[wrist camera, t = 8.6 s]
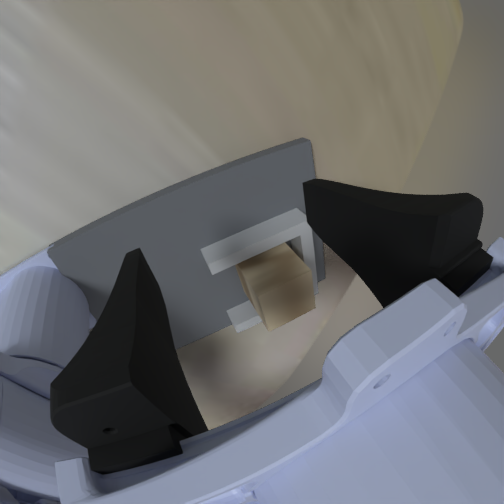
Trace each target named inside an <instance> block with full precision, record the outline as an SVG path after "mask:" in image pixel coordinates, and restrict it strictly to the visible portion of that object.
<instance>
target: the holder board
mask: <svg viewBox="0 0 504 504" xmlns="http://www.w3.org/2000/svg"><path fill="white" fill-rule="evenodd" d="M312 179H316V178H315V170H314V163H313V156H312V149H311V142H310V140H308V139H306V138H300V139H297V140H293V141H290V142H287V143H284V144H281V145H278V146H275V147H272V148H269V149H266V150H263V151H260V152H257V153H254V154H252V155H249V156H246V157H243V158H240V159H238V160H235V161H232V162H230V163H227V164H224V165H222V166H219V167H216V168H214V169H211V170H209V171H206V172H203V173H201V174H198V175H196V176H193V177H191V178H189V179H186V180H184V181H181V182H179V183H176V184H174V185H172V186H169V187H167V188H165V189H162V190H160V191H158V192H156V193H153V194H151V195H149V196H147V197H144V198H142V199H140V200H138V201H135V202H133V203H131V204H129V205H127V206H125V207H123V208H120V209H118V210H116V211H114V212H112V213H110V214H108V215H106V216H104V217H102V218H100V219H98V220H96V221H94V222H92V223H90V224H88V225H86V226H84V227H82V228H80V229H78V230H76V231H74V232H73V233H71V234H69V235H67V236H65V237H63V238H61V239H59V240H58V241H56V242H54V243H52V244H50V245H49V246H51V245H53V244H54V246H53V247H51V248H49V249H48V250H47V254H48V255H49V257H50V258H51V260H52V261H53V263H54V264H55V266H56V267H57V268H58V270H59V271H60V273H61V274H62V275H64V276H65V277H67V278H69V279H70V280H72V281H73V282H74V283H75V284H77V286H78V287H79V288H80V289H81V290H82V291H83V293H84V295H85V297H86V299H87V301H88V304H89V312H90V313H91V314H92V315H93V317H94V318H95V319H96V320H97V321H98V319H99V317H100V315H101V314H102V312H103V310H104V308H105V305H106V303H107V301H108V299H109V296H110V294H111V292H112V289H113V287H114V284H115V282H116V279H117V276H118V274H119V271H120V268H121V265H122V262H123V260H124V257H125V255H126V253H128V252H130V251H133V250H135V249H137V248H139V247H140V249H141V251H142V253H143V255H144V257H145V259H146V261H147V263H148V265H149V267H150V269H151V271H152V273H153V274H154V276H155V278H156V280H157V282H158V284H159V286H160V289H161V292H162V295H163V298H164V301H165V304H166V309H167V314H168V318H169V323H170V328H171V332H172V337H173V341H174V346H175V350H176V349H178V348H180V347H183V346H185V345H187V344H190V343H192V342H194V341H196V340H199V339H201V338H203V337H205V336H208V335H210V334H212V333H214V332H217V331H219V330H221V329H223V328H225V327H227V326H230V325H232V324H233V326H234V328H235V330H236V332H237V333H239V332H241V331H243V330H245V329H247V328H250V327H252V326H254V325H256V324H258V323H260V322H262V320H261V318H260V316H259V315H258V313H257V312H256V310H255V308H254V307H253V305H252V303H251V302H250V300H249V298H248V297H247V295H246V294H245V292H244V290H243V287H242V284H241V281H240V278H239V275H238V272H237V270H236V267H235V265H236V264H238V263H240V262H242V261H245V260H247V259H249V258H251V257H253V256H256V255H258V254H260V253H262V252H264V251H267V250H269V249H271V248H273V247H276V246H278V245H280V244H282V243H284V242H285V243H286V244H287V245H288V246H289V247H290V248H291V249H292V250H293V251H294V252H295V253H296V254H297V256H298V257H299V258H300V259H301V260H302V261H303V262H304V263H305V264H306V265H307V266H308V267H309V268H310V269H311V271H312V279H313V288H314V295H316V294H317V293H318V282H319V281H321V280H323V279H325V267H324V254H323V243H322V240H321V239H320V238H319V237H318V235H317V234H316V233H315V232H314V231H313V229H312V228H311V227H310V226H309V224H308V223H307V218H306V209H305V201H304V192H303V184H302V183H303V182H306V181H309V180H312Z"/></svg>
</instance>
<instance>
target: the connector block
mask: <svg viewBox="0 0 504 504" xmlns="http://www.w3.org/2000/svg"><path fill="white" fill-rule="evenodd" d="M235 267H236V270H237V272H238V275H239V278H240V281H241V284H242V287H243V290H244V292H245V294H246V295H247V297H248V298H249V300H250V302H251V303H252V305H253V307H254V308H255V310H256V312H257V313H258V315H259V316H260V318H261V320H262V321H263V323H264V325H265V326H266V328H267V329H268V331H269V332H270V331H272V330H274V329H276V328H278V327H280V326H282V325H284V324H286V323H288V322H290V321H292V320H294V319H295V318H297V317H299V316H301V315H303V314H305V313H307V312H309V311H311V310H313V309H314V308H316V307H315V297H314V288H313V279H312V271H311V269H310V268H309V267H308V266H307V265H306V264H305V263H304V262H303V261H302V260H301V259H300V258H299V257H298V256H297V254H296V253H295V252H294V251H293V250H292V249H291V248H290V247H289V246H288V245H287V244H286V243H285V242H284V243H282V244H280V245H278V246H276V247H273V248H271V249H269V250H267V251H264V252H262V253H260V254H258V255H256V256H253V257H251V258H249V259H247V260H245V261H242V262H240V263H238V264H236V265H235Z"/></svg>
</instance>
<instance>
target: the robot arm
mask: <svg viewBox="0 0 504 504" xmlns="http://www.w3.org/2000/svg"><path fill="white" fill-rule="evenodd" d="M302 184H303V192H304V201H305V209H306V218H307V223H308V224H309V226H310V227H311V228H312V229H313V231H314V232H315V233H316V234H317V235H318V237H319V238H320V239H321V240H322V241H323V242H324V243H325V244H327V245H328V246H329V247H330V248H331V249H332V250H333V251H334V252H335V253H336V254H337V255H338V256H340V257H341V258H342V259H343V260H344V261H345V262H346V263H347V264H348V265H349V266H350V267H351V268H352V269H353V270H354V271H355V272H356V273H357V274H358V275H359V276H360V278H361V279H362V280H363V281H364V282H365V284H366V285H367V286H368V287H369V288H370V290H371V291H372V293H373V294H374V295H375V297H376V298H377V299H378V301H379V302H380V303H381V305H382V306H383V309H382V310H380V311H379V312H377V313H375V314H374V315H372V316H370V317H369V318H367V319H366V320H364V321H362V322H361V323H359V324H357V325H356V326H354V328H352V329H351V330H349V331H348V332H347V333H345V334H344V335H343V336H341V337H340V338H339V339H338V341H337V342H336V343H335V344H334V345H333V347H332V348H331V349H330V350H329V351H328V353H327V356H326V359H325V362H324V364H323V368H322V378H320V379H319V380H317V381H315V382H313V383H311V384H309V385H307V386H306V387H304V388H302V389H300V390H298V391H296V392H294V393H292V394H290V395H288V396H286V397H284V398H282V399H280V400H278V401H276V402H274V403H272V404H270V405H267V406H266V407H263V408H261V409H259V410H257V411H254V412H252V413H250V414H248V415H245V416H243V417H241V418H238V419H236V420H234V421H231V422H229V423H227V424H224V425H222V426H219V427H217V428H214V429H211V430H208V428H207V426H206V424H205V422H204V420H203V418H202V416H201V414H200V411H199V409H198V407H197V405H196V403H195V400H194V398H193V396H192V393H191V391H190V388H189V386H188V383H187V381H186V378H185V376H184V373H183V371H182V368H181V365H180V363H179V360H178V357H177V353H176V350H175V346H174V341H173V337H172V332H171V328H170V323H169V318H168V314H167V309H166V304H165V301H164V298H163V295H162V292H161V289H160V286H159V284H158V282H157V280H156V278H155V276H154V274H153V273H152V271H151V269H150V267H149V265H148V263H147V261H146V259H145V257H144V255H143V253H142V251H141V249H140V247H139V248H137V249H135V250H133V251H130V252H128V253H126V255H125V257H124V260H123V262H122V265H121V268H120V271H119V274H118V276H117V279H116V282H115V284H114V287H113V289H112V292H111V294H110V296H109V299H108V301H107V303H106V305H105V308H104V310H103V312H102V314H101V315H100V317H99V319H98V321H97V320H96V319H95V318H94V317H93V315H92V314H91V313H90V312H89V304H88V301H87V299H86V297H85V295H84V293H83V291H82V290H81V289H80V288H79V287H78V286H77V284H75V283H74V282H73V281H72V280H70V279H69V278H67V277H65V276H64V275H62V274H61V273H60V271H59V270H58V268H57V267H56V266H55V264H54V263H53V261H52V260H51V258H50V257H49V255H48V254H47V250H48V249H49V248H51V247H53V246H54V244H53V245H51V246H49V247H48V248H46V249H44V250H42V251H41V252H39V253H37V254H35V255H34V256H32V257H30V258H28V259H27V260H25V261H23V262H22V263H20V264H18V265H17V266H15V267H13V268H12V269H10V270H8V271H7V272H5V273H4V274H2V275H0V504H504V373H503V372H502V371H501V370H500V369H499V368H498V367H497V366H496V365H495V364H494V363H493V362H492V361H491V359H490V358H489V357H488V356H487V355H486V354H484V351H485V350H486V348H487V347H488V346H489V345H490V344H491V342H492V341H493V340H494V339H495V337H496V336H497V335H498V334H499V332H500V331H501V330H502V329H503V327H504V239H503V238H502V237H499V238H498V239H497V240H496V241H494V242H493V243H492V244H491V245H490V246H489V247H488V249H487V251H484V250H483V249H482V248H481V247H482V242H481V241H479V240H478V239H477V237H478V233H479V230H480V226H481V221H482V217H483V205H482V202H481V200H480V199H478V198H477V197H475V196H473V195H471V194H469V193H459V194H447V195H413V194H400V193H392V192H384V191H378V190H373V189H367V188H362V187H357V186H353V185H348V184H343V183H339V182H334V181H329V180H323V179H312V180H309V181H306V182H303V183H302ZM92 328H93V329H92ZM89 329H92V331H91V332H90V334H89Z"/></svg>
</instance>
